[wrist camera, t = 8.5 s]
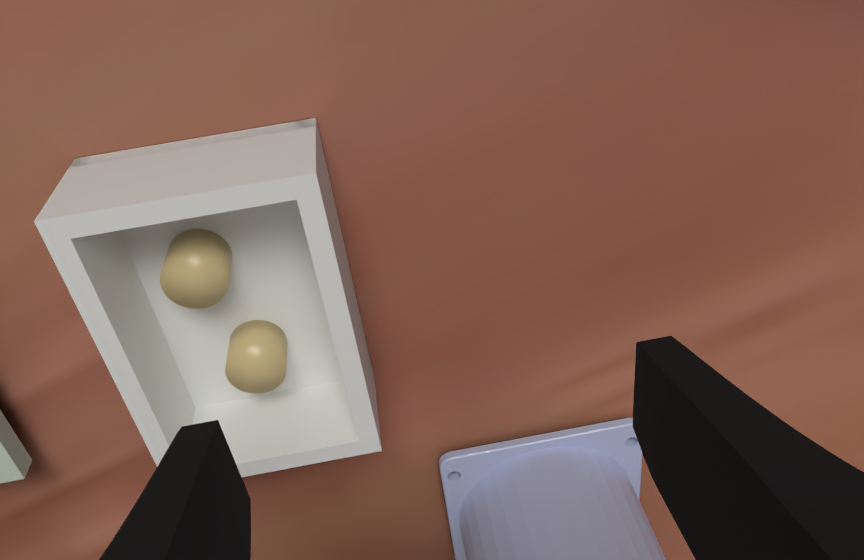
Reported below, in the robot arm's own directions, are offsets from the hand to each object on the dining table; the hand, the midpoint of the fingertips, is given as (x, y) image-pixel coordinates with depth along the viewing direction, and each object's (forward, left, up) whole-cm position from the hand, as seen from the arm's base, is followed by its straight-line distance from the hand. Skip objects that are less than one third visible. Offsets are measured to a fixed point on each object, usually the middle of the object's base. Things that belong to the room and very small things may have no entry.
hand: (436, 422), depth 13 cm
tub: (-3, +5, -10) cm, 12 cm away
